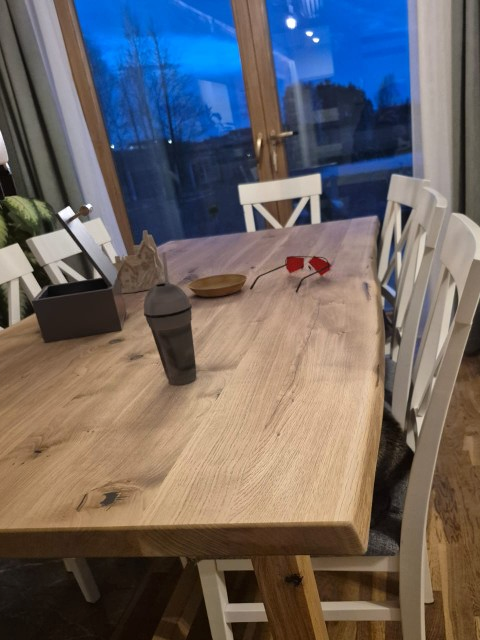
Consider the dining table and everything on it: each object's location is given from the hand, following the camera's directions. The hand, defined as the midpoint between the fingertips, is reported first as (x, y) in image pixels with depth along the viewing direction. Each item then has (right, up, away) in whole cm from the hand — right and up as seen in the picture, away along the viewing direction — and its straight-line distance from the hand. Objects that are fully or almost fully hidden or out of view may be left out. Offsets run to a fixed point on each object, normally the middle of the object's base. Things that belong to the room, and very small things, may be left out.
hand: (3, 198), depth 110 cm
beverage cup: (+38, -35, -17) cm, 54 cm away
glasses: (+55, -9, +33) cm, 65 cm away
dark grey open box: (+10, -22, +17) cm, 30 cm away
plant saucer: (+37, -12, +33) cm, 51 cm away
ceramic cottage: (+13, -7, +49) cm, 52 cm away
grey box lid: (+12, -7, +10) cm, 17 cm away
